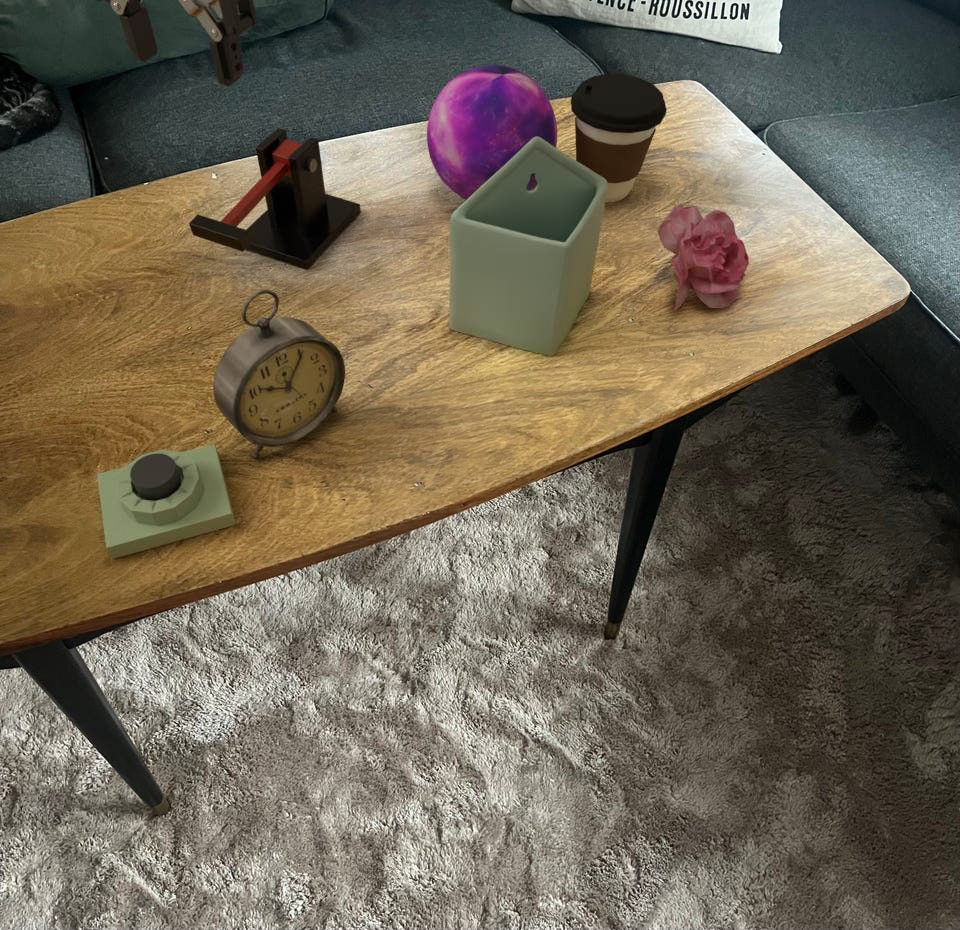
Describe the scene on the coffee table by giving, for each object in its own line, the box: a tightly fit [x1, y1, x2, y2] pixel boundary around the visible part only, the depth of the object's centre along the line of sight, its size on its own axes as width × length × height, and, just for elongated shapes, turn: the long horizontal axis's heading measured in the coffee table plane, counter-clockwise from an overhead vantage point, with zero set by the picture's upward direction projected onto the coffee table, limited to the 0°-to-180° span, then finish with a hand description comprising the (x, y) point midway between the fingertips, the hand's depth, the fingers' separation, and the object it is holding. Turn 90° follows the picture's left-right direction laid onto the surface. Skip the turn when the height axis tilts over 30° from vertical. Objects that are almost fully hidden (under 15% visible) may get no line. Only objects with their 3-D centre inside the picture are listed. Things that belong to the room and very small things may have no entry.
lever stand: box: [244, 127, 361, 271], centre depth 92 cm, size 12×9×11 cm
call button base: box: [96, 443, 237, 560], centre depth 70 cm, size 10×8×4 cm
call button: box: [130, 453, 181, 501], centre depth 68 cm, size 4×4×2 cm
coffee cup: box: [570, 73, 668, 203], centre depth 98 cm, size 11×11×12 cm
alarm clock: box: [212, 288, 346, 460], centre depth 71 cm, size 11×5×16 cm, turn 131°
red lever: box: [188, 139, 303, 252], centre depth 86 cm, size 15×6×2 cm, turn 156°
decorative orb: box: [426, 64, 558, 200], centre depth 96 cm, size 15×15×15 cm
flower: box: [650, 203, 750, 312], centre depth 89 cm, size 11×10×10 cm
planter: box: [448, 136, 608, 357], centre depth 78 cm, size 16×8×20 cm, turn 113°
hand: (188, 69), depth 69 cm, fingers open, 8 cm apart
